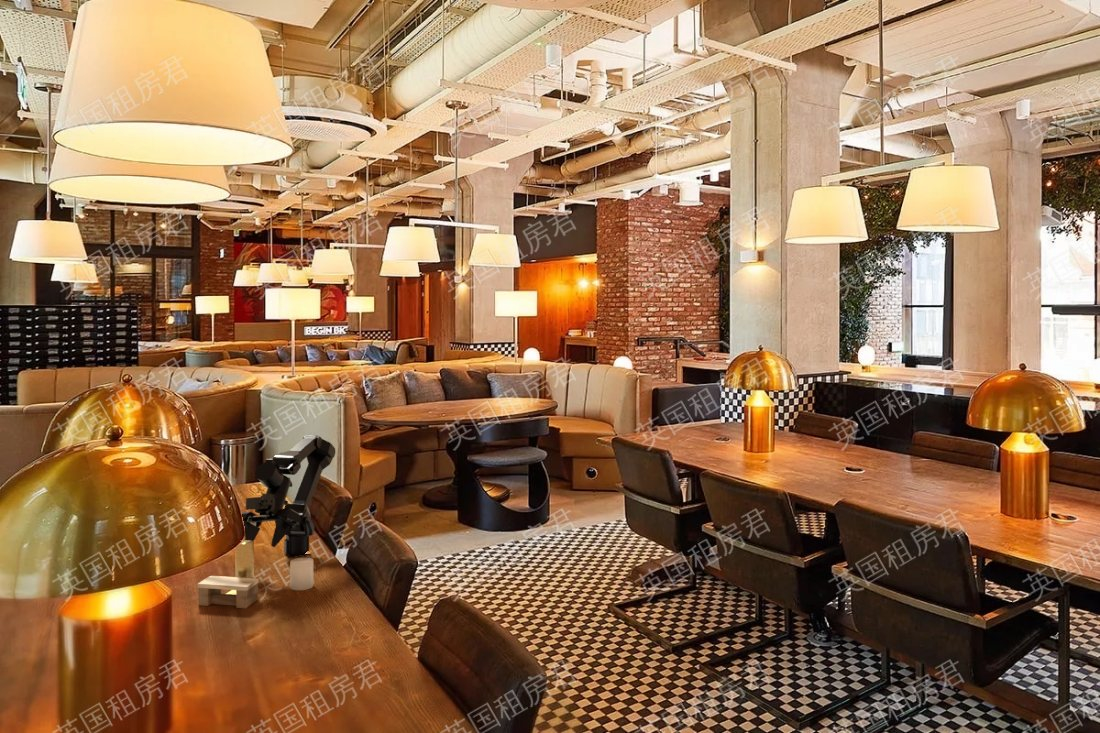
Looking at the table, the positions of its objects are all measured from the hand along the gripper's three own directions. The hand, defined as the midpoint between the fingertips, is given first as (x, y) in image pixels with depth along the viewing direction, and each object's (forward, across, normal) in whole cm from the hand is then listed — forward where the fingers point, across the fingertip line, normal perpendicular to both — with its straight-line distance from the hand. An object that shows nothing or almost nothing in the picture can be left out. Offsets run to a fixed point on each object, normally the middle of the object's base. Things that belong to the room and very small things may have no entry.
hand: (259, 547), depth 208 cm
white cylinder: (+9, +12, +7) cm, 17 cm away
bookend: (+14, +2, -4) cm, 15 cm away
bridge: (+17, +4, -8) cm, 20 cm away
